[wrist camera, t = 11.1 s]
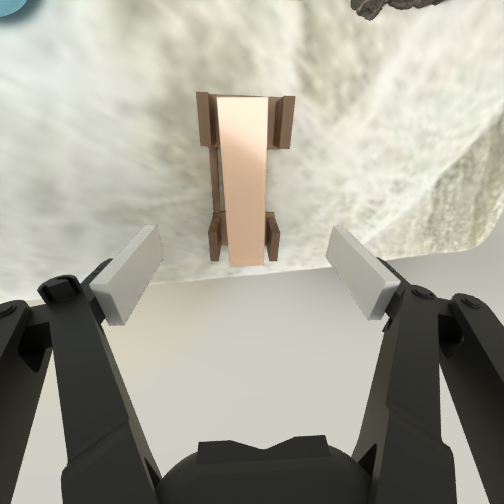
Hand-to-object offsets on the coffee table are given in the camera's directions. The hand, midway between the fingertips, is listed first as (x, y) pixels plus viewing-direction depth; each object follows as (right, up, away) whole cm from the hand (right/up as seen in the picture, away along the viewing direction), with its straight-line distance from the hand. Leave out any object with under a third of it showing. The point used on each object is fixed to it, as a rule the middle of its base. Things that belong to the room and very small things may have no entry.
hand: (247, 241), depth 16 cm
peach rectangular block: (-1, +10, +16) cm, 19 cm away
